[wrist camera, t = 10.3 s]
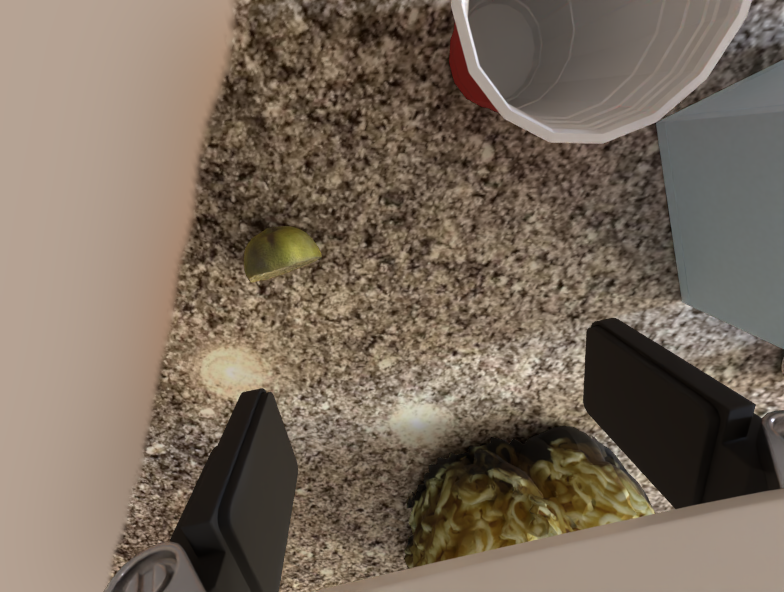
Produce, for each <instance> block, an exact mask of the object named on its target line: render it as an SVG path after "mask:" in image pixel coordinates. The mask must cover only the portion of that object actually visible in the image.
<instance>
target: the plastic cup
mask: <svg viewBox="0 0 784 592" xmlns="http://www.w3.org/2000/svg"><path fill="white" fill-rule="evenodd" d="M751 2H752V0H452V4H451V8H452V12H453V16H454V19H455V22H454V31H453V34H452V37H451V40H450V55H449V64H450V68H451V72H452V75H453V79H454V83H455V84H456V86H457V87H458V88H459V90H460V91H461V92H462V94H463V95H464V96H465V98H466V99H468V100H470V101H472V102H474V103H475V104H477V105H479V106H481V107H484V108H489V109H491V110H493V111H494V112H498V113H500V114H501V116H502V117H503V118H504V119H505V120H507V121H509V122H511V123H513V124H515V125H517V126H519V127H521V128H523V129H525V130H527V131H529V132H530V133H532V134H534V135H536V136H538V137H540V138H542V139H544V140H546V141H548V142H550V143H592V144H603V143H606V142H608V141H611V140H613V139H616V138H618V137H621V136H623V135H626V134H628V133H631V132H633V131H636V130H638V129H641V128H643V127H646V126H648V125H651V124H653V123H656V122H657V121H659V120H660V119H661V118H662V117H663V116H664V115H665V114H667V113H668V112H669V111H670V110H671V109H672V108H674V107H675V106H676V105H677V104H678V103H679V102H681V101H682V100H683V99H684V98H685V97H686V96H688V95H689V94H690V93H691V92H692V91H693V90H695V89H696V88H697V87H698V86H699V85H700V84H702V83H703V82H704V81H705V80H706V79H707V78H708V76H709V75H710V73H711V72H712V70H713V68H714V67H715V65H716V64H717V62H718V61H719V59H720V58H721V56H722V55H723V53H724V51H725V50H726V48H727V47H728V45H729V44H730V42H731V41H732V39H733V38H734V36H735V34H736V33H737V31H738V30H739V28H740V27H741V25H742V24H743V22H744V21H745V19H746V17H747V15H748V11H749V8H750V5H751Z"/></svg>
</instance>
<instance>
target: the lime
mask: <svg viewBox="0 0 784 592" xmlns="http://www.w3.org/2000/svg"><path fill="white" fill-rule="evenodd" d="M321 258H322V257H321V252H320V250H319V248H318V246H317V245H316V243H315V242H314V241H313V239H312V238H311V237H310V236H309V235H308V234H307V233H306V232H304V231H302V230H300V229H298V228H295V227H291V226H282V227H270V228H266V229H265V230H264V231H262V232H261V233H259V234H258V235H256V236H255V237H253V238H252V239H251V240H250V242H249V243H248V244H247V246H246V249H245V252H244V268H245V273H246V276H247V278H248V280H249V281H250V282H256V281H261V280H266V279H270V278H275V277H277V276H279V275H283V274H285V273H288V272H291V271H292V270H295V269H298V268H301V267H304V266H306V265H309V264H311V263H312V262H315V261H317V260H320V259H321Z"/></svg>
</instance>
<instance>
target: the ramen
mask: <svg viewBox="0 0 784 592" xmlns="http://www.w3.org/2000/svg"><path fill="white" fill-rule="evenodd" d="M592 438H593V439H594V440H593V439H592ZM592 438H590V437H589V436H588V435H587V434H586V433H584V432H581V431H579V430H577V429H576V428H574V427H568V426H560V427H555V428H551V429H549V430H547V431H545V432H543V433H541V434H539V435H536V436H533V437H531V438H529V439H528V440H527V441H526V442H525V444H522V443H520V442H519V441H517V440H515V439H512V441H511V442H510V444H509V443H508V442H506V441H505V440H502V439H499V438H493V437H491V443H489V444H484V445H482V446H479V447H471V446H469V452H468V453H463V454H459V455H456V454H453V453H450V455H449V458H448V459H445V458H438V461H437V465H429V473H426V474H425V475H424V480H425V481H423V483H424V485H418V489H417V492H416V495H415V494H414V493H413V492H412V493H413V499H412V500H411V499H410V498H409V497H408V499H407V508H412V507H413V509H412V512H411V515H410V517H409V525H410V526H411V529H412V533H413V535H412V536H411V537H409V536H408V544H407V547H406V548H405V550H404V551H405V558H404V559H405V562H406V564H407V567H408V569H410V568H414V567H418V566H423V565H427V564H431V563H436V562H440V561H444V560H449V559H453V558H457V557H462V556H466V555H471V554H475V553H480V552H484V551H489V550H493V549H498V548H502V547H506V546H511V545H515V544H520V543H524V542H529V541H533V540H538V539H542V538H547V537H551V536H556V535H560V534H565V533H569V532H574V531H578V530H583V529H587V528H592V527H596V526H601V525H606V524H610V523H615V522H619V521H624V520H629V519H633V518H638V517H642V516H647V515H652V514H656V513H655V512H654V510H653V508H652V506H651V504H650V502H649V499H648V497H647V495H646V493H645V492H644V490H643V489H642V488H641V486H640V485H639V483H638V482H637V481H636V480H635V479H634V478H633V477H632V476H631V475H630V474H629V473H628V472H627V471H626V469H625V468H624V467H623V465H622V464H621V462H620V461H619V459H618V458H617V457H616V455H615V454H614V453H613V452H612V451H611V450H610V449H609V448H607V447H605V446H603V445H602V444H601V443H599V442H598V441H597V440H596V439H595V437H593V436H592Z"/></svg>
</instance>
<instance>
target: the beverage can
mask: <svg viewBox="0 0 784 592" xmlns="http://www.w3.org/2000/svg"><path fill="white" fill-rule="evenodd" d="M781 366H782V373H783V375H784V358H783V361H782V365H781Z"/></svg>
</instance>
